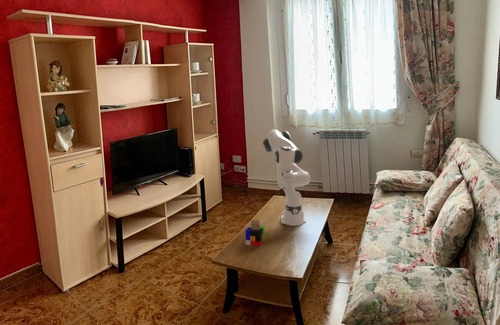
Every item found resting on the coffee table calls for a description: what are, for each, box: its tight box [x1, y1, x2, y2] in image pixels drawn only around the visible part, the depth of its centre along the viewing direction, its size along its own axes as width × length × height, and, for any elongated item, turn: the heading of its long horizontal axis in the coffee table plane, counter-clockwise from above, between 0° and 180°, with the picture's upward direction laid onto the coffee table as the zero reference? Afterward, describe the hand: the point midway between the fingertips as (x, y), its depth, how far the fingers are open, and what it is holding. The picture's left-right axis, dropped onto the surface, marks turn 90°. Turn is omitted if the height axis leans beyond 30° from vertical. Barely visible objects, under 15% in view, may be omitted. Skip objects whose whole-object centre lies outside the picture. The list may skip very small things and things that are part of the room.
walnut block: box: [250, 219, 261, 230], centre depth 276 cm, size 5×5×5 cm
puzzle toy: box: [244, 224, 265, 247], centre depth 277 cm, size 10×10×10 cm
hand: (285, 191), depth 274 cm, fingers open, 8 cm apart
